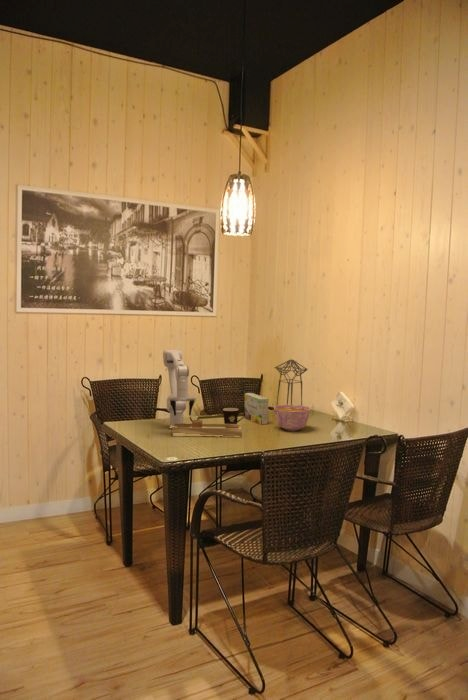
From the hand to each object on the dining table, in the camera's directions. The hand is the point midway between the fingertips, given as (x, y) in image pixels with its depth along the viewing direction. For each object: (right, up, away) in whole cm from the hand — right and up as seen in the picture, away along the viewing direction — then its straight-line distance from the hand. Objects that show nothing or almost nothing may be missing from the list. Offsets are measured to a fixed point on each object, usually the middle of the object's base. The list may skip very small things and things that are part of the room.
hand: (182, 415), depth 287 cm
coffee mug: (+26, -9, +18) cm, 33 cm away
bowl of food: (+58, -10, +15) cm, 61 cm away
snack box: (+39, -8, +36) cm, 54 cm away
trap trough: (+12, -10, +1) cm, 16 cm away
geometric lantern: (+61, -7, +49) cm, 79 cm away
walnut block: (+8, -7, +1) cm, 10 cm away
